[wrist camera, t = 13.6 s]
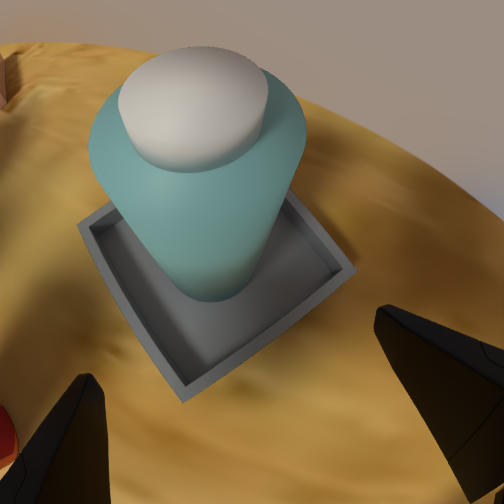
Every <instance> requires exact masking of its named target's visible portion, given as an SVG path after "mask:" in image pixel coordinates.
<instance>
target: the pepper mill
mask: <svg viewBox="0 0 504 504" xmlns="http://www.w3.org/2000/svg"><path fill="white" fill-rule="evenodd" d="M306 134H307V129H306V121H305V117H304V114H303V110H302V108H301V106H300V104H299V102H298V100H297V99H296V97H295V96H294V95H293V93H292V92H291V91H290V90H289V89H288V87H286V85H285V84H284V83H282V82H281V81H280V80H279V79H278V78H276V77H275V76H273V75H272V74H270V73H269V72H267V71H265V70H263V69H261V68H259V67H258V66H257V65H256V64H255V63H254V62H252V61H251V60H250V59H248V58H246V57H245V56H243V55H241V54H238V53H236V52H233V51H230V50H226V49H222V48H215V47H188V48H181V49H177V50H173V51H169V52H166V53H164V54H161V55H159V56H156V57H154V58H152V59H150V60H149V61H147V62H145V63H144V64H142V65H141V66H140V67H138V68H137V69H136V70H135V71H134V72H133V73H132V74H131V75H130V76H129V77H128V78H127V80H126V81H125V83H124V84H122V85H121V86H120V87H119V88H118V89H117V90H116V91H115V92H114V93H113V94H112V95H111V96H110V97H109V98H108V99H107V100H106V102H105V103H104V104H103V106H102V107H101V109H100V110H99V112H98V114H97V116H96V118H95V120H94V123H93V125H92V128H91V132H90V136H89V146H88V151H89V160H90V163H91V167H92V170H93V172H94V174H95V176H96V178H97V180H98V182H99V183H100V185H101V186H102V188H103V189H104V191H105V192H106V193H107V195H108V196H109V198H110V199H111V201H112V202H113V204H114V205H115V206H116V208H117V209H118V211H119V212H120V214H121V215H122V216H123V218H124V219H125V221H126V222H127V223H128V225H129V226H130V227H131V229H132V230H133V232H134V233H135V234H136V236H137V237H138V238H139V240H140V241H141V242H142V244H143V245H144V246H145V248H146V249H147V250H148V252H149V253H150V254H151V255H152V257H153V258H154V259H155V261H156V262H157V263H158V265H159V266H160V267H161V268H162V270H163V271H164V272H165V273H166V275H167V276H168V277H169V278H170V280H171V281H172V282H173V283H174V285H175V286H176V287H177V288H178V289H179V290H180V291H181V292H182V293H183V294H185V295H186V296H188V297H190V298H192V299H194V300H197V301H201V302H210V303H212V302H220V301H224V300H227V299H230V298H232V297H233V296H235V295H237V294H238V293H239V292H241V291H242V290H243V289H244V288H245V287H246V285H247V284H248V283H249V281H250V279H251V278H252V275H253V273H254V271H255V268H256V266H257V263H258V261H259V259H260V256H261V254H262V251H263V249H264V247H265V244H266V242H267V239H268V237H269V235H270V232H271V230H272V227H273V225H274V223H275V220H276V218H277V215H278V213H279V210H280V208H281V206H282V203H283V201H284V198H285V196H286V193H287V191H288V189H289V186H290V184H291V181H292V179H293V176H294V174H295V172H296V169H297V167H298V164H299V162H300V159H301V157H302V154H303V152H304V148H305V144H306Z"/></svg>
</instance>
